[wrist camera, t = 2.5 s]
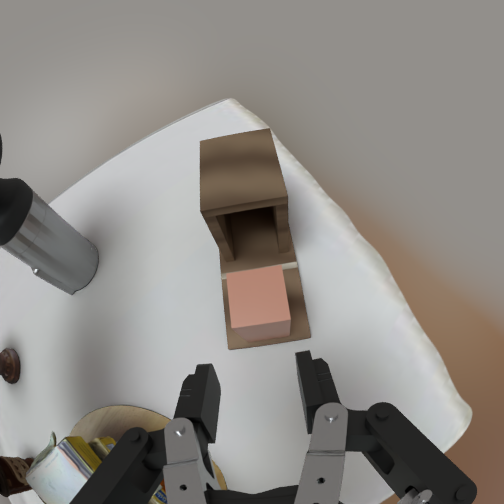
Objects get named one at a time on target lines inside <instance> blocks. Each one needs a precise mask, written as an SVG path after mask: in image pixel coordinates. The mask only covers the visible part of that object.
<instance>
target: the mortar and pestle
mask: <svg viewBox="0 0 504 504" xmlns="http://www.w3.org/2000/svg"><path fill="white" fill-rule="evenodd" d="M19 374H20V364H19V358H18V355H17V354H16V352H15V351H14V350H13V349H9V348H6V349H4V350H3V351H2V352H1V353H0V375H2V377H3V378H4V380H5V381H7V382H8V383H10V384H13V383H16V382H17V380H18V379H19Z"/></svg>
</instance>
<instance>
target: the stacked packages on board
mask: <svg viewBox="0 0 504 504" xmlns="http://www.w3.org/2000/svg"><path fill="white" fill-rule="evenodd" d="M169 421H171V420H170V419H168V418H166V417H164V416H162V415H159V414H157V413H155V412H152V411H149V410H146V409H142V408H138V407H132V406H108V407H104V408H100V409H97V410H95V411H92V412H90V413H89V414H87V415H86V416H84V417H83V418H82V419H81V420H80V421H79V422H78V423H77V424H76V425H75V427H74V428H73V430H72V431H71V433H70V435H69V437H65V438H64V439H63V440H62V441H61V442H60V443H59V444H58V445H56V436H55V433H54V432H53V431H52V434H51V439H50V442H49V445H48V446H47V447H46V448H45V449H44V450H43V451H42V452H41V453H40V454H39V455H38V456H37V457H36V459H35V460H34V462H33V463H32V465H31V467H30V469H29V470H28V471H27V472H26V480H27V482H28V484H29V485H30V486H31V487H32V488H33V490H34V491H35V492H36V493H37V494H38V496H39V497H40V499H41V500H42V501H43V502H44V503H45V504H69V503H70V502H71V501H72V499H73V498H74V497H75V496H76V494H77V493H78V492H79V491H80V489H81V488H82V487H83V485H84V484H85V483H86V482H87V480H88V479H89V478H90V477H91V475H92V474H93V473H94V472H95V470H96V469H97V468H98V466H99V465H100V464H101V463H102V461H103V460H104V459H105V457H106V456H107V455H108V454H109V452H110V451H111V450H112V448H113V447H114V446H115V445H116V443H117V442H118V441H119V439H120V438H121V437H122V436H123V434H124V433H125V432H126V431H127V430H129V429H130V428H133V427H141V428H143V429H145V430H146V431H147V432H151V431H156V430H160V429H163V428H165V426H166V424H167V423H168V422H169ZM212 462H213V466H214V470H215V474H216V477H217V481H218V483H219V486H220V487H221V490H227V487H226V483H225V480H224V477H223V475H222V473H221V471H220V469H219V468H218V466H217V465H216V464H215V462H214V461H213V460H212ZM148 504H168V503H167V497H166V490H165V482H164V478H163V480H162V482H161V483H160V485H159V486H158V488H157V490H156V491H155V493H154V494H153V496H152V497H151V499H150V501H149V502H148Z"/></svg>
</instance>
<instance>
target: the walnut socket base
mask: <svg viewBox="0 0 504 504" xmlns="http://www.w3.org/2000/svg"><path fill="white" fill-rule="evenodd" d="M200 212H201V214H202V216H203V218H204V220H205V222H206V224H207V226H208V228H209V230H210V232H211V234H212V236H213V238H214V240H215V241H216V243H217V245H218V247H219V253H220V266H221V280H222V290H223V301H224V312H225V322H226V332H227V342H228V349H229V350H233V349H242V348H250V347H257V346H265V345H272V344H278V343H284V342H290V341H296V340H302V339H308V338H310V337H311V336H310V330H309V324H308V319H307V313H306V308H305V302H304V297H303V292H302V286H301V281H300V276H299V271H298V266H297V261H296V257H295V252H294V247H293V242H292V238H291V233H290V229H289V224H288V195H287V191H286V187H285V183H284V179H283V175H282V172H281V168H280V164H279V160H278V157H277V153H276V149H275V146H274V142H273V138H272V135H271V131H270V128H269V129H262V130H256V131H249V132H244V133H238V134H232V135H227V136H222V137H217V138H212V139H208V140H203V141H200ZM277 265H282V271H283V276H284V282H285V288H286V293H287V299H288V305H289V311H290V317H291V324H290V336H286V337H280V338H274V339H267V340H260V341H253V342H247V341H246V340H245V339H243V338H242V337H241V336H240V335H239V334H238V333H236V332H235V331H234V330H233V329H232V328H231V318H230V308H229V298H228V288H227V277H226V274H227V273H234V272H240V271H246V270H253V269H259V268H265V267H271V266H277Z"/></svg>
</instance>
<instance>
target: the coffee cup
mask: <svg viewBox="0 0 504 504" xmlns="http://www.w3.org/2000/svg"><path fill="white" fill-rule="evenodd" d="M33 462H34V459H32V458H27V459H25V460H24V459H21V458H19V457H14V458H13V457H3V456H0V494H1V495H3V496H5V497H8V496H10V495H13V494H17V493H21V492H24V491H29V490H32V489H33V488H32V487H31V486H30V485H29V484H28V482H27V480H26V472H27V471H28V470H29V469H30V467H31V465H32V463H33Z"/></svg>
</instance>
